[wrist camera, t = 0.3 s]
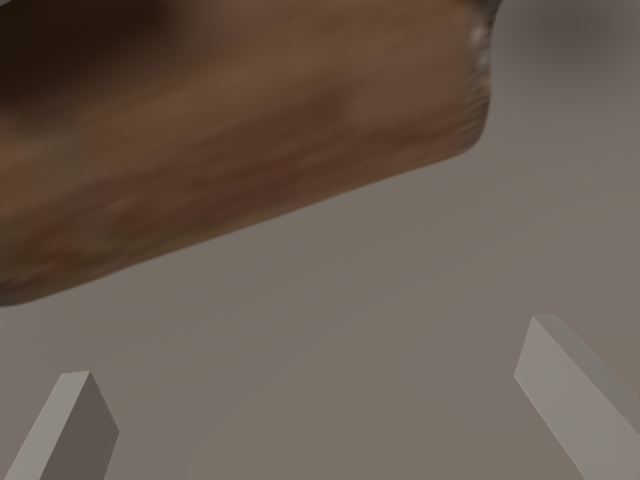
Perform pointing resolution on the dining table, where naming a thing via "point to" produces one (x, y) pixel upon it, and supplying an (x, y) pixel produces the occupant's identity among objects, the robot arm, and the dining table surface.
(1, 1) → the supplement box
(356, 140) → the dining table surface
